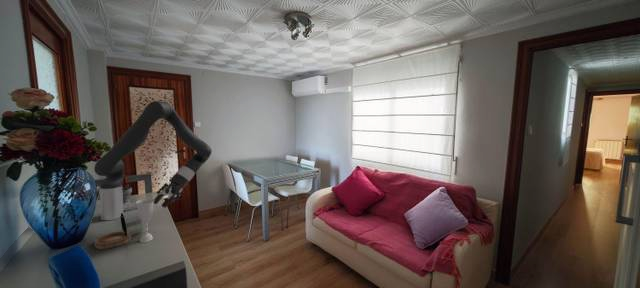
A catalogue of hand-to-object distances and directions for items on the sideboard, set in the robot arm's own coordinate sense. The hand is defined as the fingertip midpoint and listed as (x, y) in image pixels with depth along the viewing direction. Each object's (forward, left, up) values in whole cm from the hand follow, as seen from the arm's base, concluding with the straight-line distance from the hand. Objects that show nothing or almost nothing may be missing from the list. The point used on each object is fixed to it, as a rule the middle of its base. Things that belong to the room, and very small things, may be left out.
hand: (158, 205), depth 111 cm
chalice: (0, -5, -15) cm, 16 cm away
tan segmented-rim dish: (-9, -14, -15) cm, 22 cm away
